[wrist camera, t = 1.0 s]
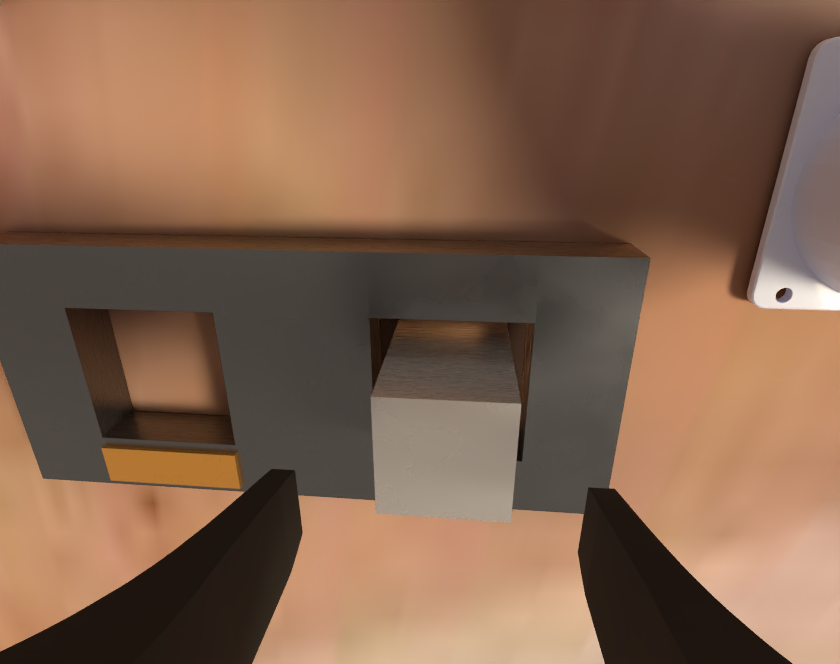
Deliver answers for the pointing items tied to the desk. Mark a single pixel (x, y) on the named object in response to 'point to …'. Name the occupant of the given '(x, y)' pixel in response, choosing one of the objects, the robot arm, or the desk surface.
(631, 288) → the grey board with holes
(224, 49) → the desk surface
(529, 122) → the desk surface
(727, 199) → the desk surface
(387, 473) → the peg
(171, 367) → the desk surface
